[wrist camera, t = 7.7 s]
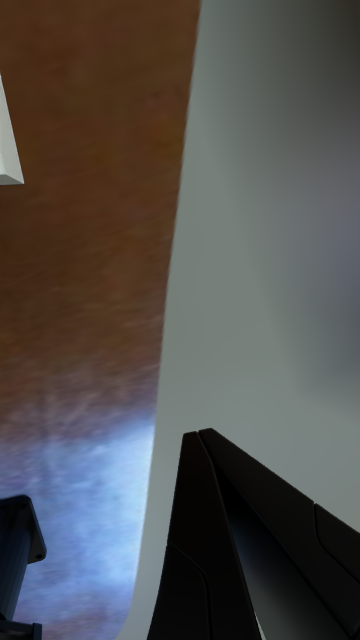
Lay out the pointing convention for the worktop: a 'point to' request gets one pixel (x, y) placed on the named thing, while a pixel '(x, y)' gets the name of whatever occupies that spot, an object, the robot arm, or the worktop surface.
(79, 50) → the worktop surface
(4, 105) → the u rest
